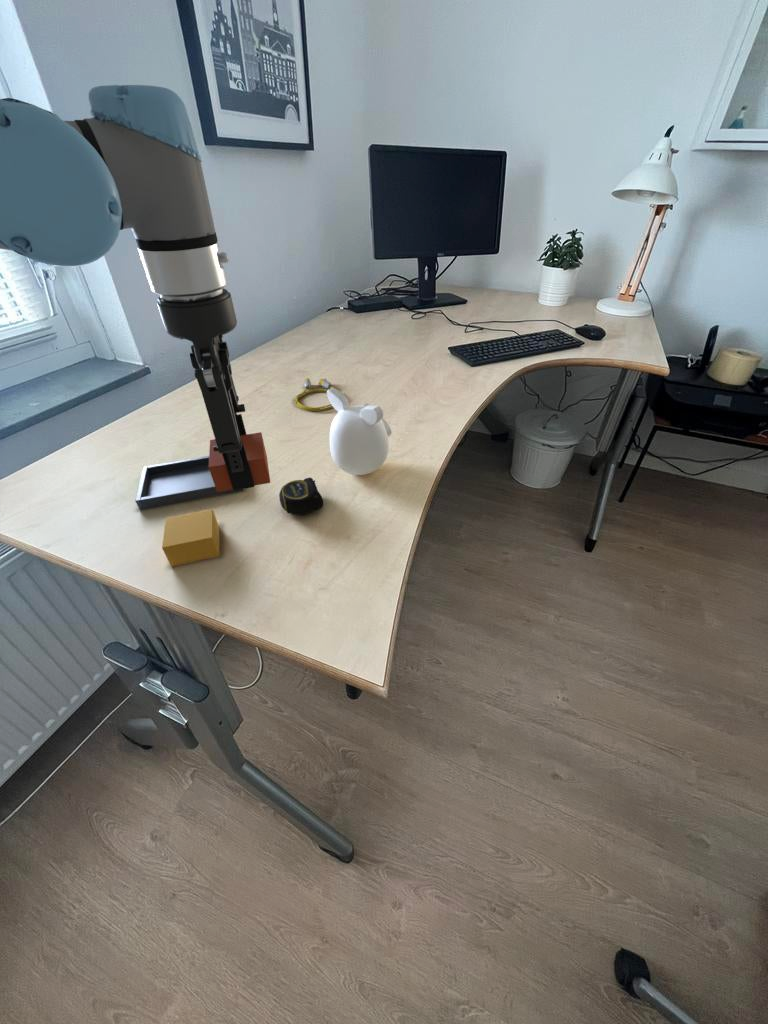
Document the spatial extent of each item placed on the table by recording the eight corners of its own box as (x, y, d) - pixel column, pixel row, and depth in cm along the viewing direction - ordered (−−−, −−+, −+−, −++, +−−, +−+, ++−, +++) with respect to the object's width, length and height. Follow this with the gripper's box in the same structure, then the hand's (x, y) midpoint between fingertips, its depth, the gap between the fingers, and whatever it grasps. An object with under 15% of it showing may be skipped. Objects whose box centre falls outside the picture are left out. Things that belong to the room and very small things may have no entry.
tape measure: (326, 513, 73) (323, 496, 71) (285, 523, 72) (282, 505, 69) (316, 490, 78) (314, 473, 76) (278, 499, 77) (274, 482, 74)
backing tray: (139, 509, 75) (135, 501, 74) (146, 475, 83) (143, 466, 82) (243, 490, 79) (240, 481, 77) (240, 459, 87) (238, 450, 86)
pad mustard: (171, 566, 65) (161, 547, 62) (174, 536, 70) (165, 517, 67) (219, 556, 66) (212, 537, 64) (219, 527, 71) (212, 508, 69)
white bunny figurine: (402, 459, 86) (403, 387, 76) (375, 492, 78) (372, 416, 68) (348, 445, 90) (342, 376, 80) (317, 475, 82) (306, 402, 72)
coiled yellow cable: (351, 385, 113) (351, 378, 111) (334, 414, 101) (334, 406, 99) (306, 383, 114) (305, 375, 113) (285, 410, 103) (284, 402, 101)
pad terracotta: (217, 492, 57) (208, 467, 55) (217, 464, 62) (209, 439, 60) (270, 482, 59) (264, 458, 56) (266, 455, 64) (261, 432, 61)
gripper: (230, 314, 39) (276, 509, 54) (228, 269, 54) (265, 432, 68) (140, 323, 37) (213, 521, 52) (164, 274, 52) (216, 440, 67)
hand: (243, 471), depth 60 cm, fingers closed on pad terracotta, 7 cm apart
